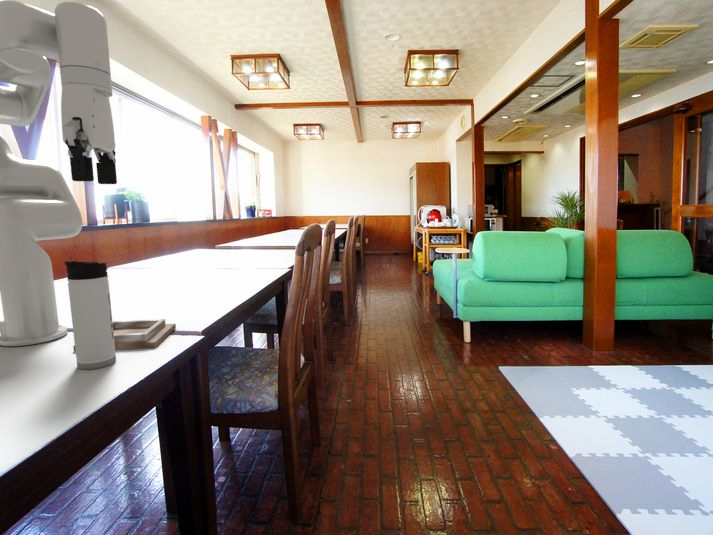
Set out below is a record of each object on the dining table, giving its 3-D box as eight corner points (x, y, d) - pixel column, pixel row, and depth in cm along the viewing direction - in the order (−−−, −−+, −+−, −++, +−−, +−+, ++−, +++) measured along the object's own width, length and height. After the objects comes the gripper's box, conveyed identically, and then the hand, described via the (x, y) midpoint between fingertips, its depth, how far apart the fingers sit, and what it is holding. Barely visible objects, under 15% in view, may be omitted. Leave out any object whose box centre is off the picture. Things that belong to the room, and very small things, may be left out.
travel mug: (67, 368, 76) (55, 260, 73) (101, 355, 82) (90, 256, 79) (90, 372, 74) (79, 262, 71) (123, 360, 80) (114, 257, 77)
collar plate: (73, 351, 85) (72, 338, 84) (106, 331, 98) (104, 320, 98) (155, 347, 87) (154, 335, 86) (175, 328, 100) (175, 317, 100)
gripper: (87, 95, 80) (95, 184, 83) (33, 66, 63) (46, 179, 66) (128, 97, 81) (135, 185, 84) (86, 69, 65) (97, 180, 67)
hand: (96, 182), depth 75 cm, fingers open, 9 cm apart
